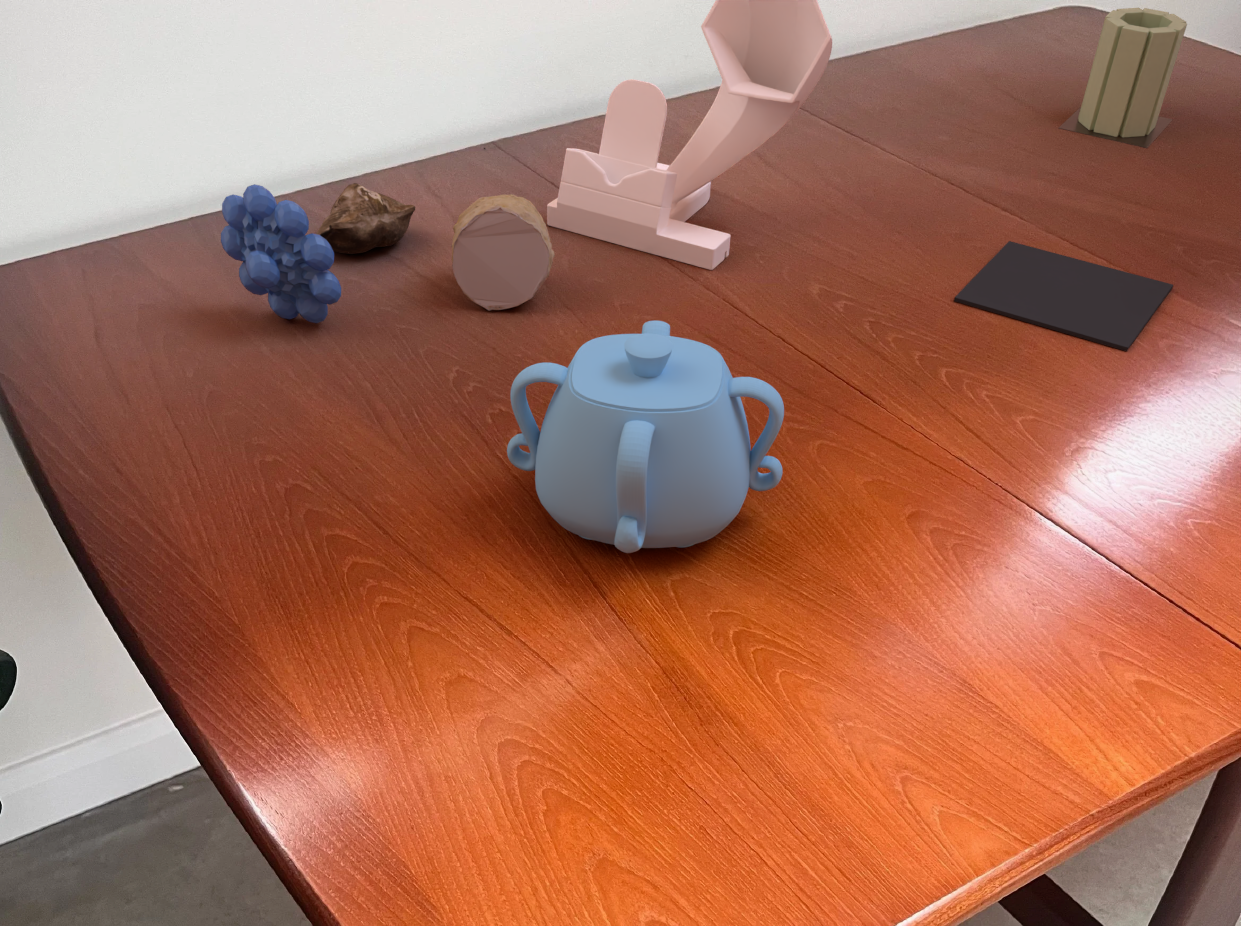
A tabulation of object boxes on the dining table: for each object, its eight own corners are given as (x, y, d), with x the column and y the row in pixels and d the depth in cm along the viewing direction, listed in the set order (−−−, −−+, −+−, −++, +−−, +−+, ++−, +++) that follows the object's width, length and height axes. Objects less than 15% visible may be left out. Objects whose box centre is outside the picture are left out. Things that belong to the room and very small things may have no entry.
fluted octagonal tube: (1161, 120, 146) (1194, 16, 138) (1140, 142, 141) (1173, 37, 133) (1092, 105, 149) (1120, 3, 142) (1069, 126, 144) (1097, 22, 137)
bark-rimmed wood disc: (430, 252, 110) (447, 163, 113) (455, 327, 119) (470, 242, 123) (539, 252, 108) (552, 161, 112) (556, 328, 117) (568, 241, 121)
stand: (1169, 132, 147) (1198, 40, 140) (1143, 161, 141) (1172, 66, 134) (1083, 113, 151) (1107, 23, 144) (1054, 141, 145) (1078, 48, 138)
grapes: (207, 326, 114) (179, 195, 106) (251, 293, 119) (227, 165, 110) (318, 354, 111) (298, 221, 102) (359, 319, 115) (342, 189, 107)
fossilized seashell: (319, 249, 120) (424, 252, 123) (315, 174, 118) (422, 179, 122) (308, 258, 127) (408, 261, 130) (304, 188, 125) (405, 192, 129)
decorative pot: (602, 605, 87) (606, 437, 78) (493, 483, 97) (485, 321, 88) (794, 531, 93) (819, 367, 84) (673, 424, 103) (683, 266, 94)
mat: (1172, 288, 120) (1173, 284, 120) (1126, 351, 111) (1128, 347, 111) (1008, 244, 126) (1009, 240, 126) (953, 301, 118) (954, 297, 118)
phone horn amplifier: (546, 225, 129) (543, -49, 112) (622, 171, 139) (630, -88, 122) (772, 287, 120) (806, -1, 103) (836, 224, 129) (878, -48, 112)
